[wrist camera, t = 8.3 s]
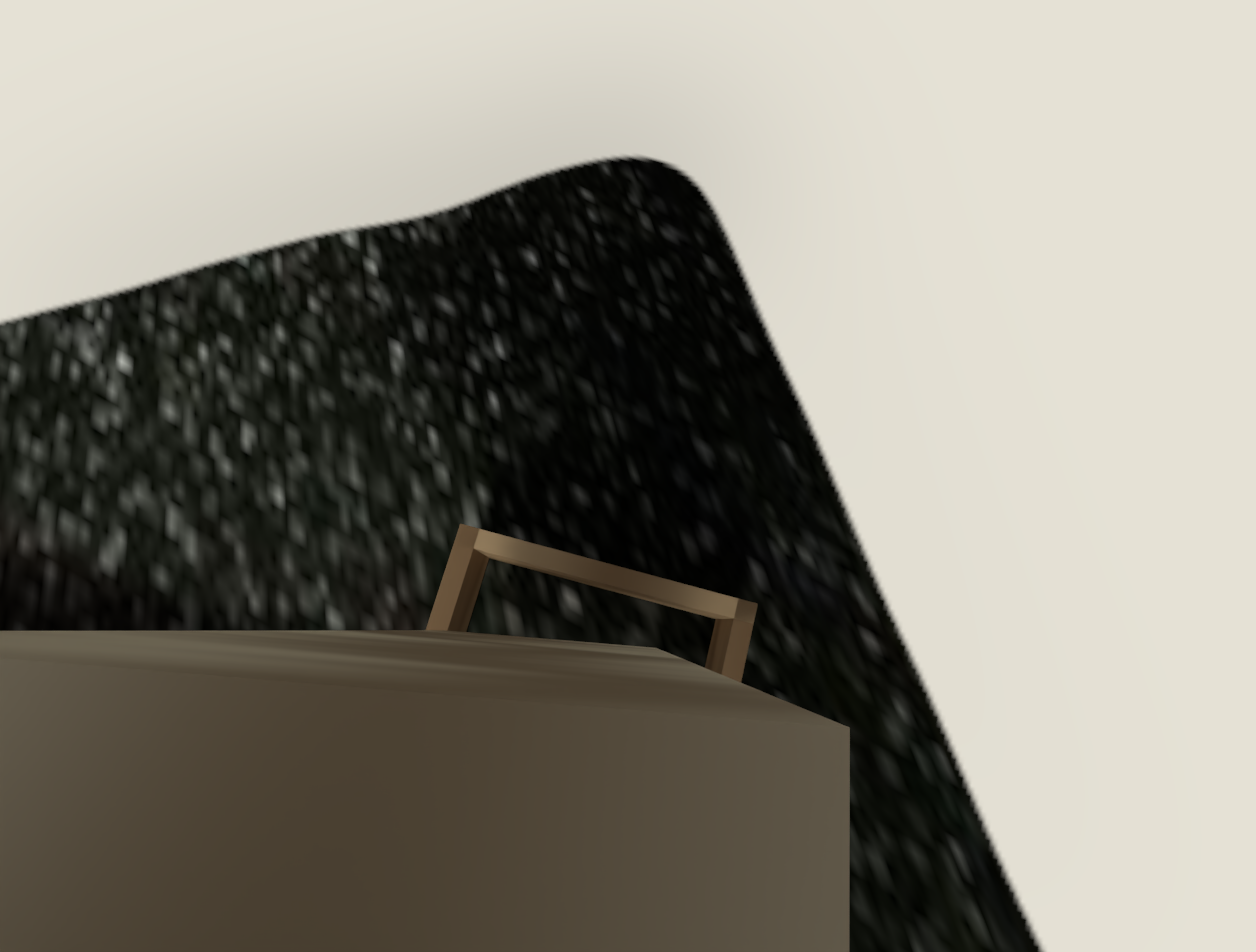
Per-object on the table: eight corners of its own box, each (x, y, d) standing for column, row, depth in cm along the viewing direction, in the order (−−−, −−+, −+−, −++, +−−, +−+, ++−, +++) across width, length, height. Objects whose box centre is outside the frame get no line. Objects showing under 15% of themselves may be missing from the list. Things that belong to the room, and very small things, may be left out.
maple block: (411, 865, 14) (-1154, 2682, 2) (443, 630, 15) (-331, 632, 3) (640, 884, 14) (844, 2851, 2) (656, 648, 15) (848, 727, 3)
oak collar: (387, 819, 21) (353, 851, 18) (477, 536, 23) (460, 523, 20) (672, 897, 20) (685, 943, 18) (736, 606, 23) (757, 603, 20)
